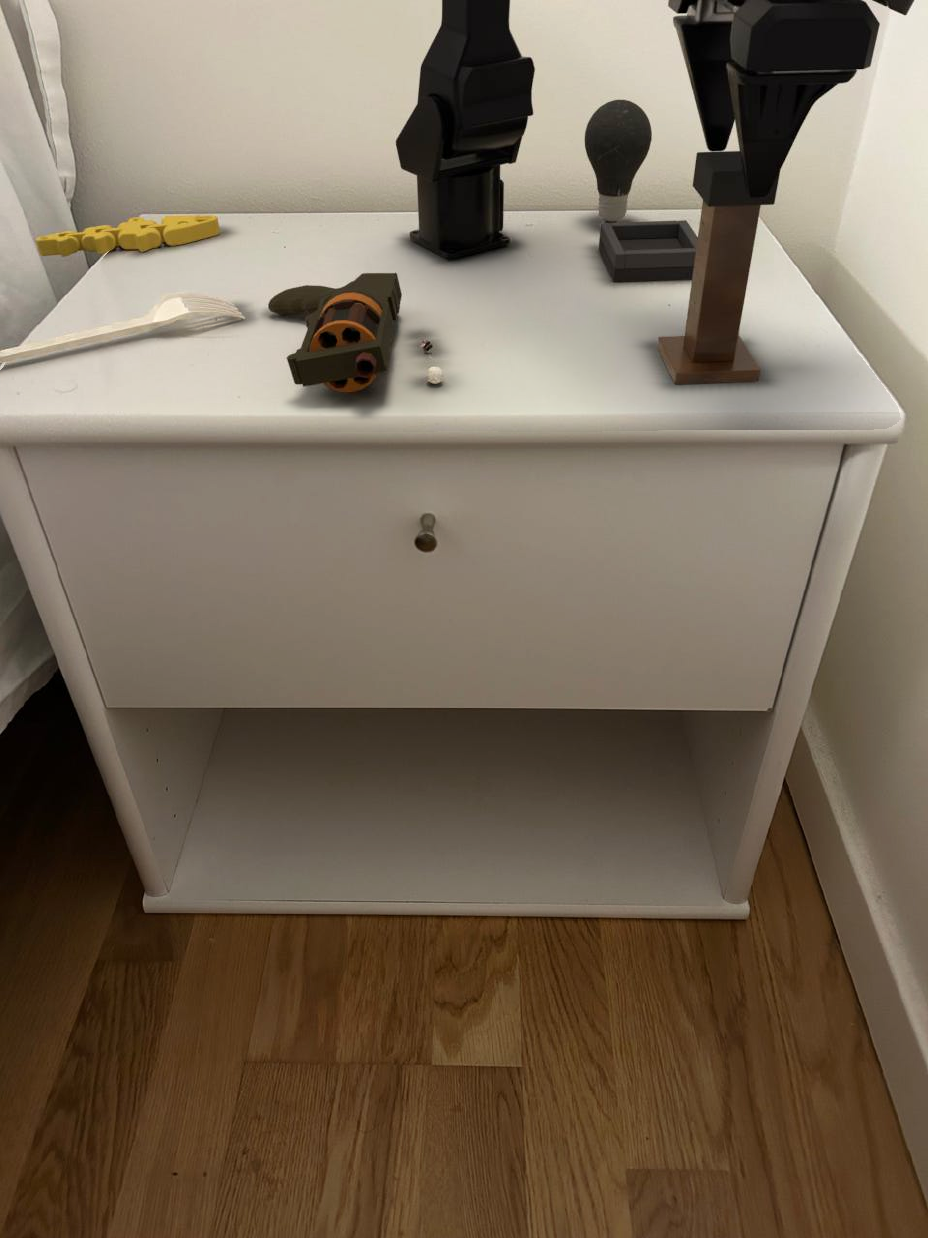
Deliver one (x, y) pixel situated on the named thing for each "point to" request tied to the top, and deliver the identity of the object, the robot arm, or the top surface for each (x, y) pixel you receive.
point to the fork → (131, 323)
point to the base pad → (648, 250)
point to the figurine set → (433, 373)
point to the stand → (716, 302)
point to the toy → (131, 235)
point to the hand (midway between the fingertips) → (735, 172)
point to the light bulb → (616, 153)
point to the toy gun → (343, 330)
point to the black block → (725, 180)
